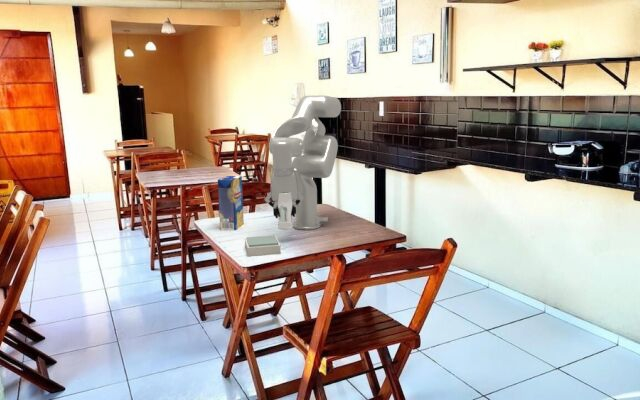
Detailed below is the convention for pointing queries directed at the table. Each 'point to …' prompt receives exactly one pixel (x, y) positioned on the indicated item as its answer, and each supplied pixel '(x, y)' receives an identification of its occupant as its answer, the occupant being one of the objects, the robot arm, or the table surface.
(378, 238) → the table surface
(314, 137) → the robot arm
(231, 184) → the beverage box
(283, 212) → the beer glass
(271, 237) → the base
